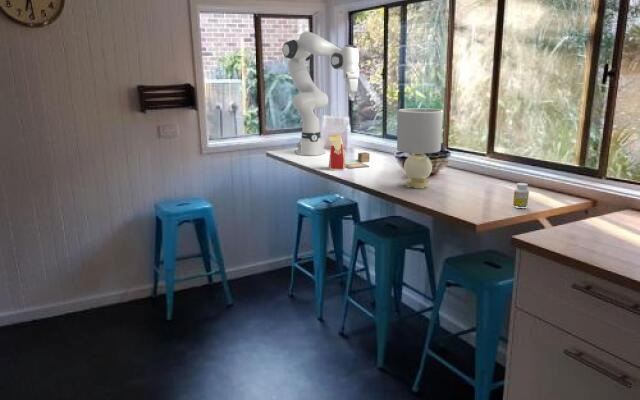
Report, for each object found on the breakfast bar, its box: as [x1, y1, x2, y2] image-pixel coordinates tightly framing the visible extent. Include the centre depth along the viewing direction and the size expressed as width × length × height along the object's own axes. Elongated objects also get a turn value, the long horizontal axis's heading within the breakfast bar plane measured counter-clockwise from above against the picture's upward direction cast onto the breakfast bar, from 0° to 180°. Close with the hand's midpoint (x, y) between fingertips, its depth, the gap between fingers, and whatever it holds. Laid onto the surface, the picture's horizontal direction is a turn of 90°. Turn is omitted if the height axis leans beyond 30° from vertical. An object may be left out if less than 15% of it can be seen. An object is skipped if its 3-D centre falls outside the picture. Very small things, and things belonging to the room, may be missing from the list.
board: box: [345, 160, 370, 170], centre depth 288 cm, size 16×12×1 cm
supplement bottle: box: [512, 182, 530, 207], centre depth 201 cm, size 5×5×10 cm
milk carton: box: [328, 132, 346, 172], centre depth 277 cm, size 9×9×20 cm
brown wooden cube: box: [357, 151, 370, 164], centre depth 298 cm, size 5×5×5 cm
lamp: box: [396, 107, 444, 189], centre depth 234 cm, size 20×20×35 cm
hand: (351, 100), depth 287 cm, fingers open, 8 cm apart
